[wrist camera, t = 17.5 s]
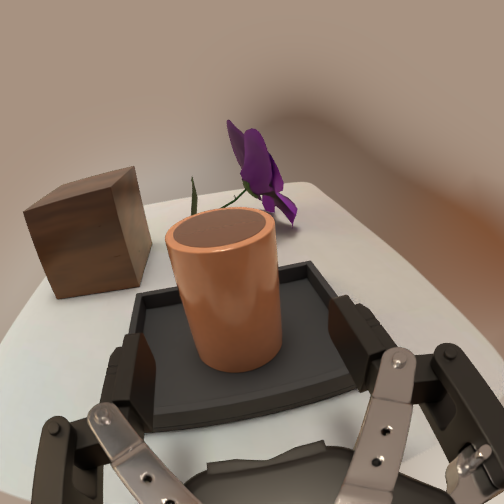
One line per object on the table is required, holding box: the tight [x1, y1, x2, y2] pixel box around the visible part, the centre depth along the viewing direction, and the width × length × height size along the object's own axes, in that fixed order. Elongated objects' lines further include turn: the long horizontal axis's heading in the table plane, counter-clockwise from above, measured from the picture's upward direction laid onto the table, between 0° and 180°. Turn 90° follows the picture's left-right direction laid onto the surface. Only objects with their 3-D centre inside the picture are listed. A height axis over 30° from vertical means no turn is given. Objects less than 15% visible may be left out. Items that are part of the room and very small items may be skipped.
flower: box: [191, 120, 297, 228], centre depth 38 cm, size 15×15×14 cm
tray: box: [128, 261, 357, 432], centre depth 21 cm, size 16×13×2 cm
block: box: [23, 166, 152, 299], centre depth 32 cm, size 11×11×11 cm
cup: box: [165, 207, 283, 373], centre depth 19 cm, size 6×6×9 cm
